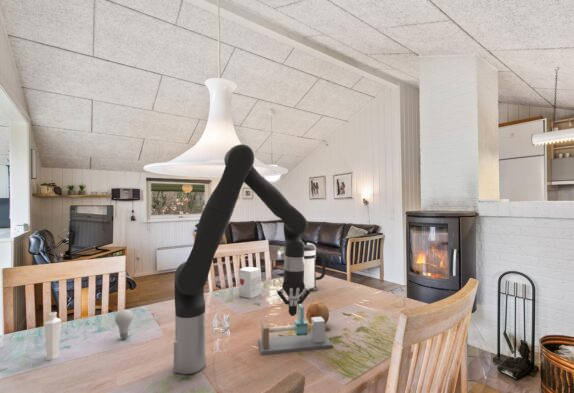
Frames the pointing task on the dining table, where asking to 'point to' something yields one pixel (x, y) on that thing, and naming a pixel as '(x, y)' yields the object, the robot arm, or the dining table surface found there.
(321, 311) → the onion
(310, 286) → the coffee press
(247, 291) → the supplement box
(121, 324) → the lightbulb
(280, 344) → the grey rod holder stand
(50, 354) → the perfume bottle
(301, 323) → the light blue bracket block
